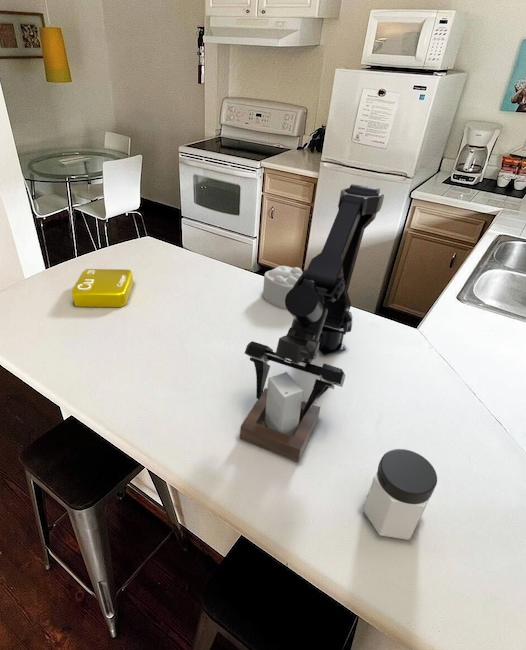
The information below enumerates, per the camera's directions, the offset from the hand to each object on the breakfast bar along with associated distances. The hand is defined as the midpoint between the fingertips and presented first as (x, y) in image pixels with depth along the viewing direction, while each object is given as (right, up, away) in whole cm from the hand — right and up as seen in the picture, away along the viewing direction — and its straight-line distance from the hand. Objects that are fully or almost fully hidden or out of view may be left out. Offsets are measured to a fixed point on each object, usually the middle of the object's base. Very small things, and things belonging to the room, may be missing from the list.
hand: (280, 407), depth 83 cm
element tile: (-46, +24, +48) cm, 70 cm away
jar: (+17, -16, -10) cm, 25 cm away
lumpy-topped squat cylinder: (+8, +23, +46) cm, 52 cm away
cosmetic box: (+1, -5, +5) cm, 8 cm away
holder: (+1, -5, +5) cm, 7 cm away
